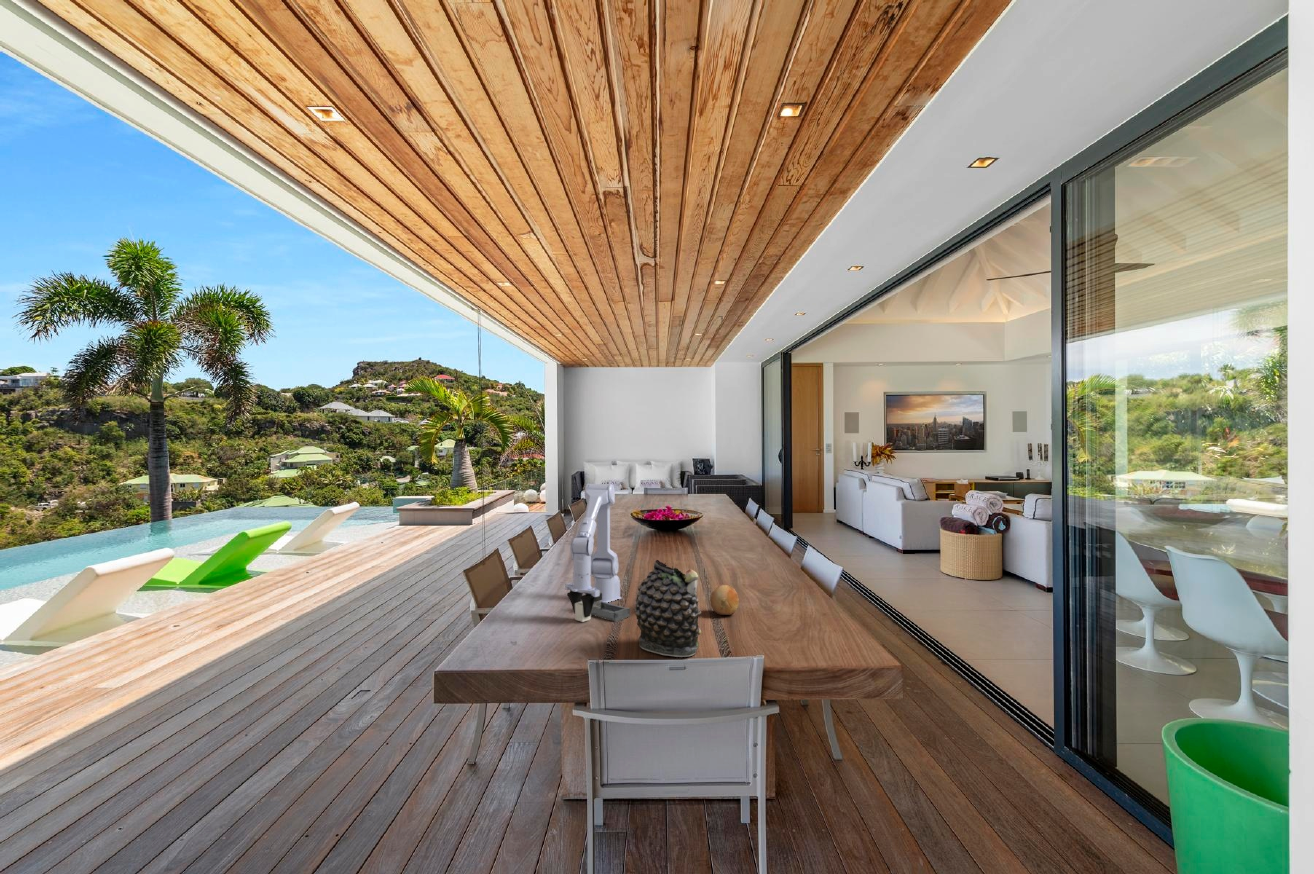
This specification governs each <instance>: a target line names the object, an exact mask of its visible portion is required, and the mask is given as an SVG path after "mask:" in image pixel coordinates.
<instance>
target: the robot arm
mask: <svg viewBox="0 0 1314 874" xmlns="http://www.w3.org/2000/svg"><path fill="white" fill-rule="evenodd" d="M615 493H616V490H615V487H614V484H613V483H608V484H607V483H606V484H605V483H587V484H586V485H585V487H584V498H585V501H586V503H587V504H586V509H585V514H584V517H583V518H582V519H581V520H580V522H579V524H578V527H577V528H578V529H577V531H576V535H575V537H574V538H572V539H571V542H570V553H571V560H572V563H573V564H572V565H573V567H572V570H573V572H572V573H573V577H572V578H573V580H572V581H573V582H568V583H565V585H564V586H565V587H564V589H565V590H566V591H569V592H567V593H566V596H567V597H568V599H569V601H570V604H571V607H572V611H573V614H574V615H575V610H574V603H578V602H581V601H582V603H583V609H584V617H588V616H590V614H591V610H592V607H593V604H594V602H595V600H596V598H597V597H598V596H600V592H601V593H602V600H601V601H602V602H606V603H608V602H609V603H611V601H612V602H615V600H616V601H618V600H617V599H619V600H621V599H622V596H621V581H620V577H619V576H618V575H617V574H618V573H619V564H620V563H619V559H618V554H617V553H616V552H615V551H613V550H612V549H611V506H613V505H615V500H616V494H615ZM595 532H596V550H594V542H595V539H594V537H595V536H594V535H595ZM593 551H594V552H593ZM591 575H592V576H591ZM592 577H593V579H594V586H592Z"/></svg>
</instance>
